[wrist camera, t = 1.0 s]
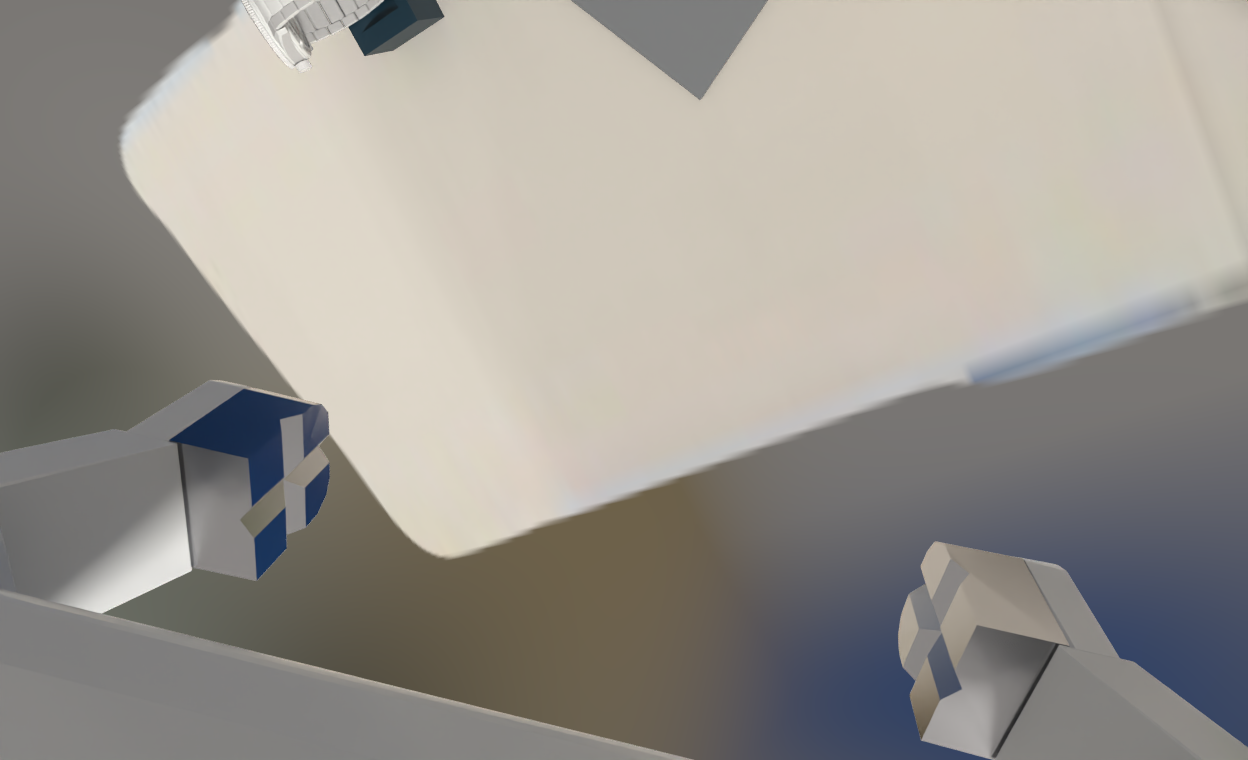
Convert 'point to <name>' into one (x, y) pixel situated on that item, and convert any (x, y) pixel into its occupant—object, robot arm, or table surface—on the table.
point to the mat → (679, 33)
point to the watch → (339, 24)
